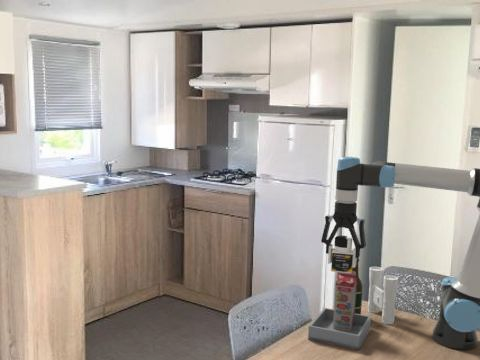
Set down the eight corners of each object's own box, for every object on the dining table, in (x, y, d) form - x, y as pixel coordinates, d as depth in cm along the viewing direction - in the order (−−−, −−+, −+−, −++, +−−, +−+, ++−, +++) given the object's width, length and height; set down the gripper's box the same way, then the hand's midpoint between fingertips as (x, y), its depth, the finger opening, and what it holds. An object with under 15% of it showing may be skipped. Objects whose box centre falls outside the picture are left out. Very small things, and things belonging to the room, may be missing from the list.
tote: (370, 329, 206) (371, 316, 205) (358, 349, 188) (359, 336, 187) (323, 320, 213) (324, 307, 213) (308, 339, 195) (308, 325, 195)
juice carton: (336, 322, 209) (339, 266, 206) (353, 325, 207) (357, 268, 204) (332, 328, 203) (336, 271, 200) (350, 331, 201) (354, 273, 198)
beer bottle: (362, 320, 214) (366, 261, 211) (343, 319, 215) (346, 260, 211) (358, 312, 222) (362, 255, 219) (339, 312, 222) (343, 254, 219)
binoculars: (364, 308, 227) (367, 266, 224) (376, 308, 228) (379, 266, 226) (385, 325, 210) (388, 280, 208) (397, 324, 211) (401, 279, 209)
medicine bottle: (330, 271, 190) (333, 238, 189) (331, 265, 197) (333, 233, 196) (351, 273, 189) (354, 239, 187) (351, 267, 196) (354, 235, 194)
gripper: (378, 202, 189) (373, 266, 192) (320, 196, 197) (316, 257, 200) (374, 206, 182) (369, 272, 185) (314, 199, 190) (310, 262, 194)
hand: (341, 264), depth 193 cm, fingers closed on medicine bottle, 8 cm apart
